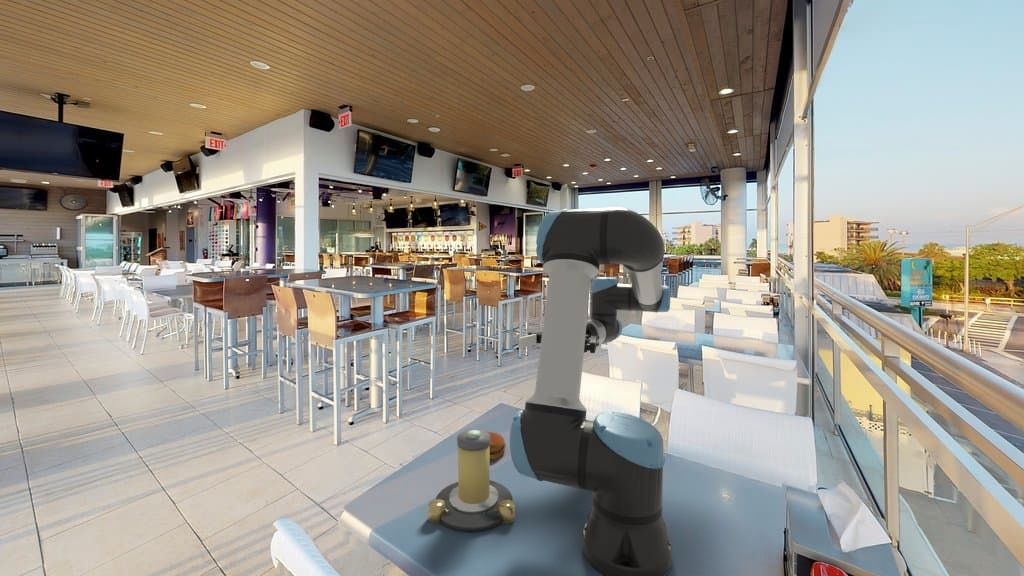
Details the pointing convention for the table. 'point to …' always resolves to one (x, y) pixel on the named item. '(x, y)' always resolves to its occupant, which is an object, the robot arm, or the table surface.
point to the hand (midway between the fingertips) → (541, 347)
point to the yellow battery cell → (473, 466)
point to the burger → (496, 445)
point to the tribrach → (472, 509)
